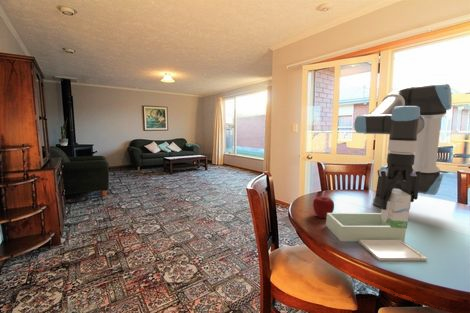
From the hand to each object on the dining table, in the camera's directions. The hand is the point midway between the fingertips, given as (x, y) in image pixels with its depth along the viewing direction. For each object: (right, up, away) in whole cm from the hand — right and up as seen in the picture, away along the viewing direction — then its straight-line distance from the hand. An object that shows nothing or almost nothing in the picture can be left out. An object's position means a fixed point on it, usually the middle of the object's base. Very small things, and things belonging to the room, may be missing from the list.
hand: (393, 218), depth 80 cm
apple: (-13, -8, +32) cm, 36 cm away
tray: (0, -12, +2) cm, 12 cm away
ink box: (0, -2, 0) cm, 2 cm away
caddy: (-2, -10, +16) cm, 19 cm away
